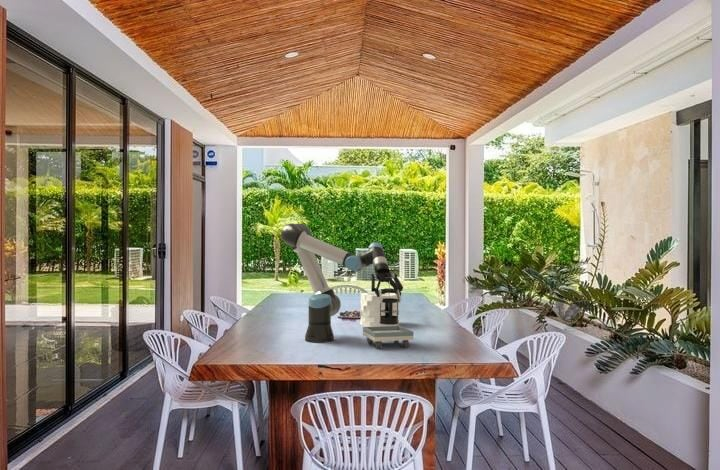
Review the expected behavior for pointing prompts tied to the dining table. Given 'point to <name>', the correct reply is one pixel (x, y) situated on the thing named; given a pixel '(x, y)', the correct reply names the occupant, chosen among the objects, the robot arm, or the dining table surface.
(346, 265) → the robot arm
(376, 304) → the basket
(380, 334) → the grey tray with legs
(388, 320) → the french press
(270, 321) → the dining table surface
